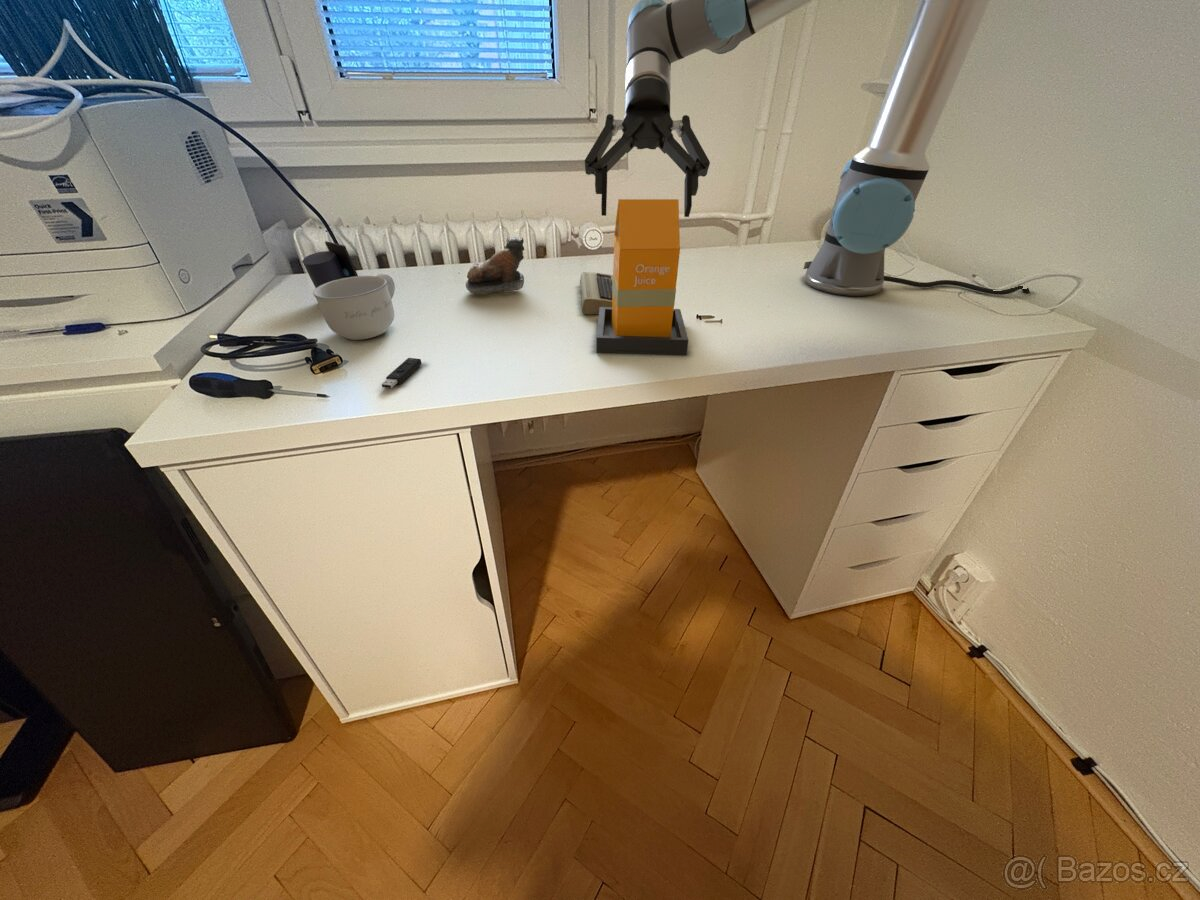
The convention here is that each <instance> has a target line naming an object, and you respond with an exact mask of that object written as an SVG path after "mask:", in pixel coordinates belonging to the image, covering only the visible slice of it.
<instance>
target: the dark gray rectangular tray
mask: <svg viewBox="0 0 1200 900" xmlns="http://www.w3.org/2000/svg"><path fill="white" fill-rule="evenodd" d="M595 338H596V344H595V345H596V350H595V351H596V353H597V354H631V355H632V354H633V355H635V354H636V355H663V356H665V355H667V356H687V354H688V347H689V346H688V345H689V338H688V334H687V330H686V326H685V323H684V319H683V315H682V311H681V309H680V308H674V310H673V319H672V328H671V337H646V336H614V333H613V329H612V307H600V309H599V314H598V318H597V330H596V337H595Z"/></svg>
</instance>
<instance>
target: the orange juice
mask: <svg viewBox="0 0 1200 900" xmlns="http://www.w3.org/2000/svg"><path fill="white" fill-rule="evenodd" d="M679 200H680V199H678V198H676V199H672V198H671V199H669V198H668V199H667V198H658V199H657V198H650V199H648V198H641V199H639V198H637V199H635V198H634V199H633V198H632V199H631V198H629V199H628V198H627V199H626V198H625V199H622V198H621V199H618V200H617V209H616V217H615V226H614V236H613V260H612V263H613V264H612V275H613V283H612V291H613V293H612V329H613V333H614V336H646V337H671V328H672V319H673V310H674V309H675V302H676V295H677V280H678V274H679V273H678V272H679V263H680V253H681V241H680V240H681V239H680V238H681V237H680V235H681V234H680V207H679V206H680V203H679V202H680V201H679Z"/></svg>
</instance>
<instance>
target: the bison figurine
mask: <svg viewBox="0 0 1200 900" xmlns="http://www.w3.org/2000/svg"><path fill="white" fill-rule="evenodd" d="M505 240H506V241H505V242H506V244H505V246H504V248H503V249H502V248H501V249H499V250H498V251H496V252H495V253H494V254H493V255H492V256H491V257H490V258H489V259H487V260H485V261H483V263H482V264H479V263H478V262H475V263H473V265H472V266H471V267H470V268H469V270H468V271H467V275H466V277H467V280H466V282H465V288H466V290H467V291H468V292H469V293H471V294H479V295H496V294H505V293H509V292H513V291H519V290H521V289H523V288H524V284H525V277H524V274H523V273H521V272H520V271H519V270H518V269H519V266H520V263H521V262H522V260H523V259H524V252H523V251H525V247H524V242H525V241H524V238H523V237H521V239H520V238H519V237H517V236H516V237H511V238H508V237H507V238H506V239H505Z"/></svg>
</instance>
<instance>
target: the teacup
mask: <svg viewBox="0 0 1200 900" xmlns="http://www.w3.org/2000/svg"><path fill="white" fill-rule="evenodd" d="M395 292H396V284H395V281H394V280H393V278H392V277H391V275H389V274H388V273H379V274H377V275H358V276H354V277H349V278H342V279H338V280H334V281H331V282H328V283H325V284H323V285H320V286H319V287H317V288H314V290H312V295H313V296H314V298H315V299H316V301H317V302H316V303H317V305H318V307H319V309H320V312H321V314H322V316H323V318H324V321H325V323H326V325H327V326H328V328H329V329H330V330H331V331H332V332H333V333H335V334H337V335H339V336H342V337H343V338H344V339H345V338H346V339H347V340H352V341H353V340H354V341H357V340H358V341H359V340H361V341H362V340H368V339H372V338H376V337H378V336H381V335H382V334H384V333H386V332H387V330H388V329H389V327H390V326H391V325H392V323H393V322H394V319H395V310H394V304H393V300H392V299H393V297H394V295H395Z"/></svg>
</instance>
